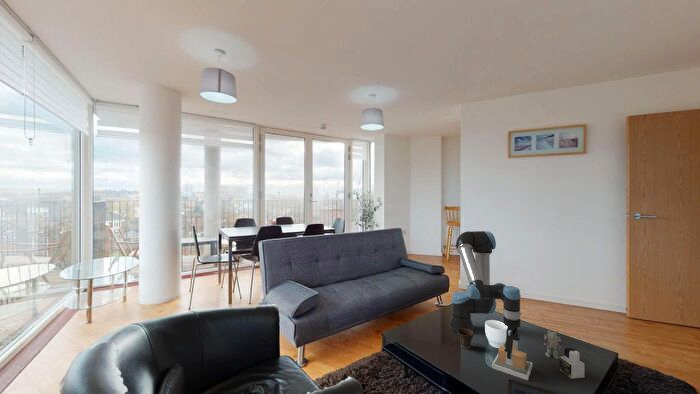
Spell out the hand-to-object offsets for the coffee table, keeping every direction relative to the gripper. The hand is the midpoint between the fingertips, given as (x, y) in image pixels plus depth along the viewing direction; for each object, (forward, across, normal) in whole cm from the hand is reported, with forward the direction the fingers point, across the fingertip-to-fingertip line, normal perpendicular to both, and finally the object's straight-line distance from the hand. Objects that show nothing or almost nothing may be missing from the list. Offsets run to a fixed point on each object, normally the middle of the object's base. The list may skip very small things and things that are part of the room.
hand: (512, 358), depth 150 cm
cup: (+5, +5, +25) cm, 26 cm away
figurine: (+5, +24, -15) cm, 29 cm away
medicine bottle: (+5, +12, -24) cm, 27 cm away
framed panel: (+5, 0, 0) cm, 5 cm away
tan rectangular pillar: (+2, 0, 0) cm, 2 cm away
